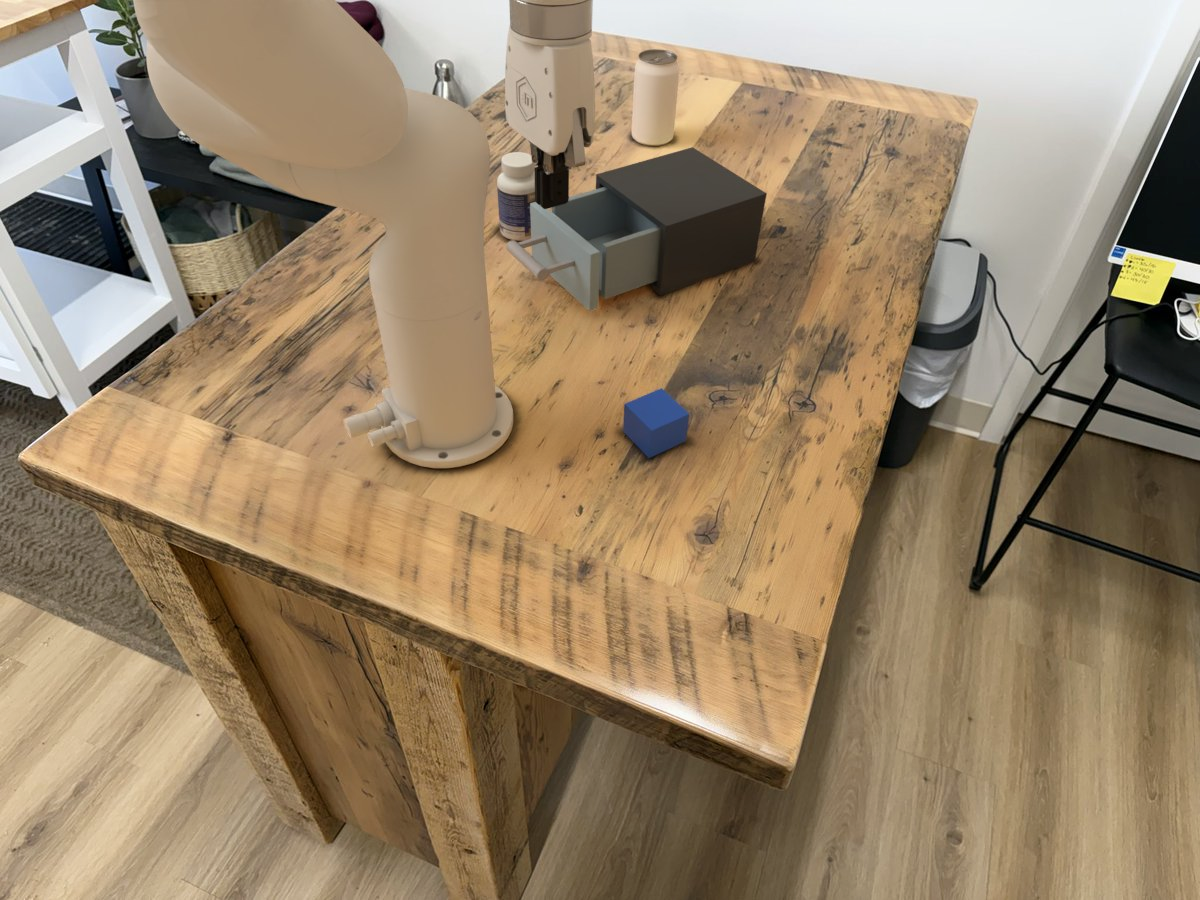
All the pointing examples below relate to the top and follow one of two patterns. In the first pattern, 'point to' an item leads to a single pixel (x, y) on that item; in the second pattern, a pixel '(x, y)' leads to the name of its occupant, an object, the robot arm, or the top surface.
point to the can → (655, 97)
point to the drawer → (591, 246)
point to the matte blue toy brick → (655, 422)
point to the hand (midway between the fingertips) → (551, 202)
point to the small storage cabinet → (692, 214)
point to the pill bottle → (516, 195)
